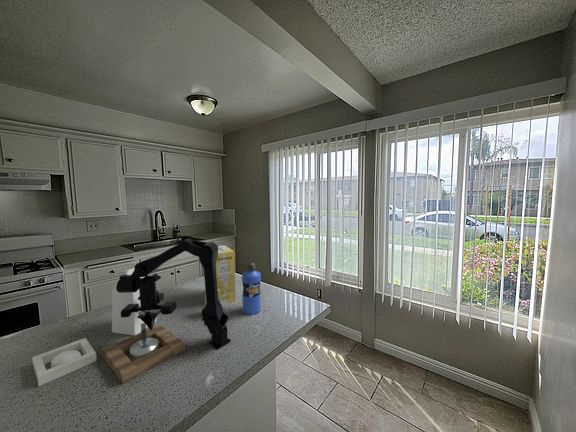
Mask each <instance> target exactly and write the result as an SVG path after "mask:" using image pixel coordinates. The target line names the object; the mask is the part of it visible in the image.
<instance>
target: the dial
mask: <svg viewBox="0 0 576 432" xmlns="http://www.w3.org/2000/svg"><path fill="white" fill-rule="evenodd" d="M146 329H147V328H146V324H145V323H141V332H140V333H141V336H142V340H140V341H138V342H136V343H134V344H133V345H132V346H131V347H130V351H129V359H130V360H131V361H132V362H133V361H135V360H137V359H139V358H141V357H143V356H145V355H147V354H150V353H152V352H154V351H156V350H158V349H160V346H159V345H160V344H159V343H158V340H157V339H156V338H146Z"/></svg>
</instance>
